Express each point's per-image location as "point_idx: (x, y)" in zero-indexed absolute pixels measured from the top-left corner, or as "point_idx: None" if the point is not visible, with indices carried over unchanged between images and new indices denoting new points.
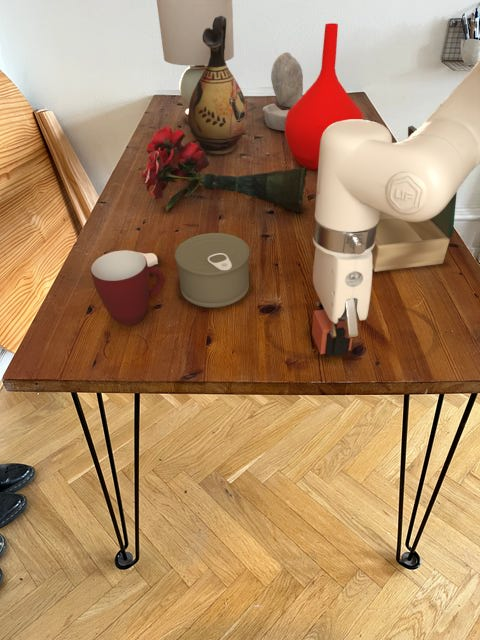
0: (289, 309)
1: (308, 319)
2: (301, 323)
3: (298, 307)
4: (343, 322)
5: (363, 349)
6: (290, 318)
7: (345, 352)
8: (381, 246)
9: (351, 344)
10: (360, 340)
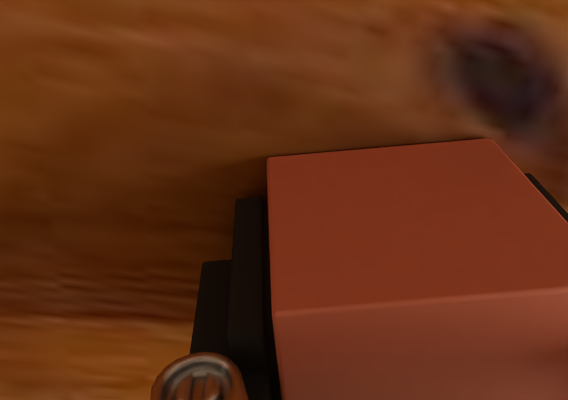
0: (47, 393)
1: (141, 319)
2: (180, 354)
3: (20, 353)
4: (518, 357)
5: (509, 40)
6: (134, 395)
7: None
8: None
9: (514, 164)
10: (406, 36)
